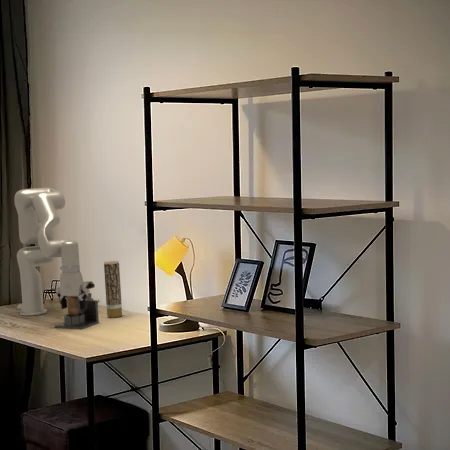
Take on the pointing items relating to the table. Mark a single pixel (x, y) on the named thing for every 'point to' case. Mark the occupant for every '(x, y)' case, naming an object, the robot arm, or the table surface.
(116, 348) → the table surface
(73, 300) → the brown wooden cylinder
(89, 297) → the figurine
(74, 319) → the bracket
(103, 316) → the table surface
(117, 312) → the paper tube
